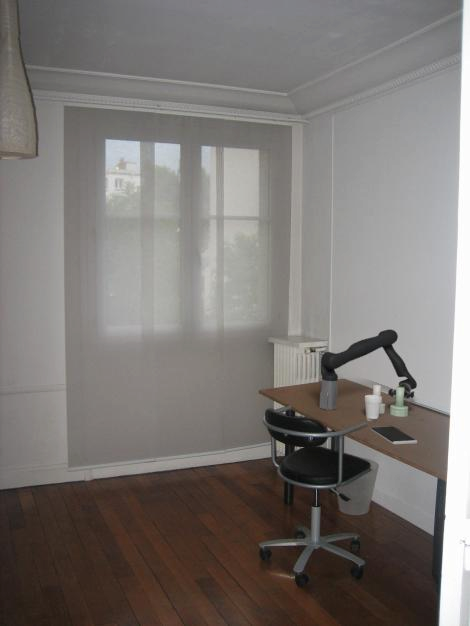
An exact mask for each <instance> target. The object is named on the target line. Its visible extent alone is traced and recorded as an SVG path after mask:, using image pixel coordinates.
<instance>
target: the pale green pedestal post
mask: <svg viewBox="0 0 470 626" xmlns="http://www.w3.org/2000/svg"><path fill="white" fill-rule="evenodd" d="M395 390H396V396H395V403H394V404H391V405H390V406H389V414H390V415H391V416H394V417H401V418H404V417H408V415H409V406H408V405H405V404H404V401H405V398H404V387H398V386H396V389H395Z"/></svg>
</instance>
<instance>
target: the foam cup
mask: <svg viewBox="0 0 470 626" xmlns="http://www.w3.org/2000/svg"><path fill="white" fill-rule="evenodd" d="M382 400H383V397H382V396H377V395H373V394H367V395H365V396H364V402H365V403H364V405H365V416H366V417H365V418H366V421H368V422H377V420H378V419H379V416H380V414H379V412H380V407H381V402H382V403H383V401H382ZM375 419H377V420H375Z"/></svg>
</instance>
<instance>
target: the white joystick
mask: <svg viewBox="0 0 470 626" xmlns="http://www.w3.org/2000/svg"><path fill="white" fill-rule="evenodd" d="M381 393H382V385H381V384H379V383H373V386H372V395H377V396H381ZM381 397H382V396H381ZM385 412H386V404H385V403H384V402H383V401H382V402H381V407H380V412H379V415H380V414H381V415H382V414H384V413H385Z"/></svg>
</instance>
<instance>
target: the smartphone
mask: <svg viewBox="0 0 470 626" xmlns="http://www.w3.org/2000/svg"><path fill="white" fill-rule="evenodd" d="M370 430H371V431H372V432H374V433H375V434H377V435H378V436H380V437H381V438H383V439H385V440H386V441H388V442H389V443H390V444H393V445H406V444H407V445H410V444H418V440H417V439H415V438H413V437H412V436H411V435H409V434H406V433H405V432H403V431H401V430H399V429H398V428H396V427H394V426H391V425H389V426H385V425H384V426H371V427H370Z"/></svg>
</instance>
